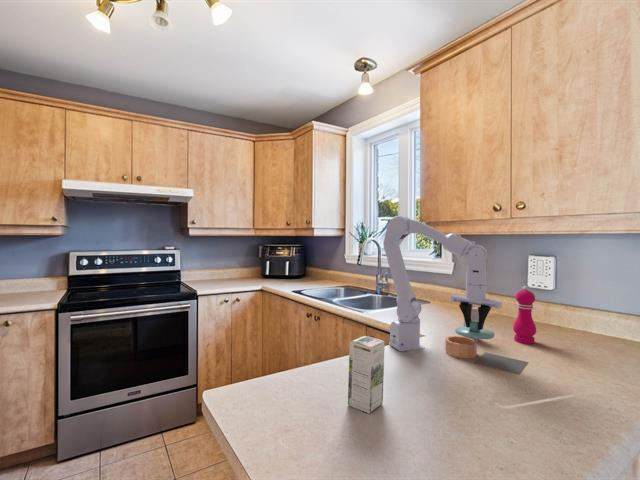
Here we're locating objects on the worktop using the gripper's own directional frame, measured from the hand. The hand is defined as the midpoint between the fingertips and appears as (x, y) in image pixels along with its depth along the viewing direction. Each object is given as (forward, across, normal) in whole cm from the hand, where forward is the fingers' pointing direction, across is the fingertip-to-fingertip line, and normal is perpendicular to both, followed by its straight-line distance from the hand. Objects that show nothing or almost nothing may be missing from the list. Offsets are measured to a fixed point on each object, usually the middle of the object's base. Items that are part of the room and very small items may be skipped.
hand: (474, 328), depth 105 cm
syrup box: (+10, +8, +48) cm, 49 cm away
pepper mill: (+9, -8, -30) cm, 33 cm away
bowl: (+9, +4, 0) cm, 10 cm away
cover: (+2, 0, 0) cm, 2 cm away
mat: (+9, -8, 0) cm, 12 cm away
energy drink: (+10, +6, -18) cm, 21 cm away
